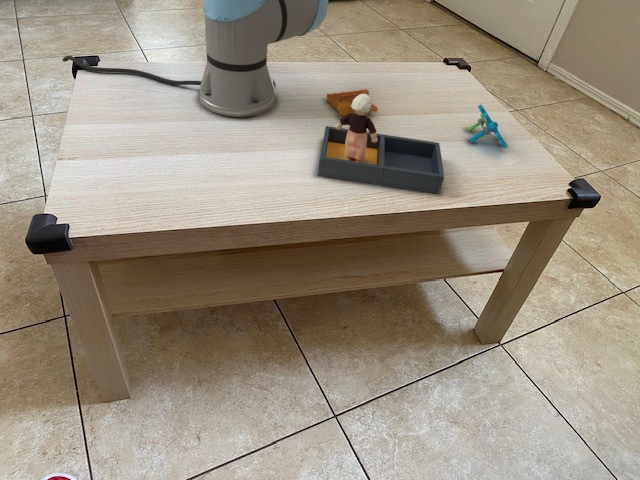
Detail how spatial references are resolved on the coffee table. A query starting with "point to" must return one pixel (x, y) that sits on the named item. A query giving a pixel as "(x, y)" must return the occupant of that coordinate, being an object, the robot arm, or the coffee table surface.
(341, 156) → the divided tray
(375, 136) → the grandmother figurine
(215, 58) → the robot arm
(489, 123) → the blue green toy windmill
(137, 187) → the coffee table surface
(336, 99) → the pottery fragment
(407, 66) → the coffee table surface
